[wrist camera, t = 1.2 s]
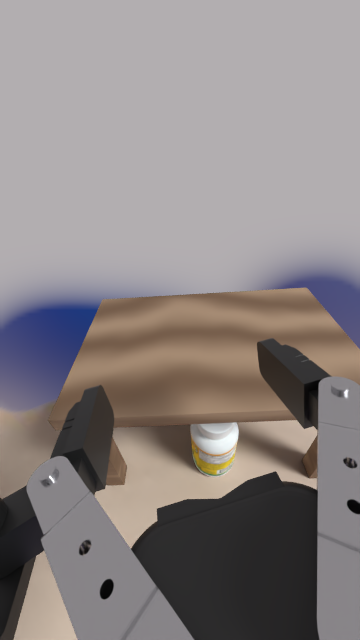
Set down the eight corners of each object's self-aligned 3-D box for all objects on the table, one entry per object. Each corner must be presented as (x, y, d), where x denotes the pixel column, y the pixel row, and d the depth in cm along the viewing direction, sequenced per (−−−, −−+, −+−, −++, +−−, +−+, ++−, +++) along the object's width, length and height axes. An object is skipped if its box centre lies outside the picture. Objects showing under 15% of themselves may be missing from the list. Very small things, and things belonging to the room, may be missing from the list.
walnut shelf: (332, 482, 27) (407, 404, 17) (102, 490, 28) (47, 420, 18) (281, 368, 41) (306, 287, 31) (126, 375, 41) (102, 299, 31)
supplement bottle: (230, 484, 28) (237, 448, 22) (186, 470, 29) (182, 432, 23) (236, 440, 32) (244, 398, 26) (197, 429, 33) (196, 387, 27)
